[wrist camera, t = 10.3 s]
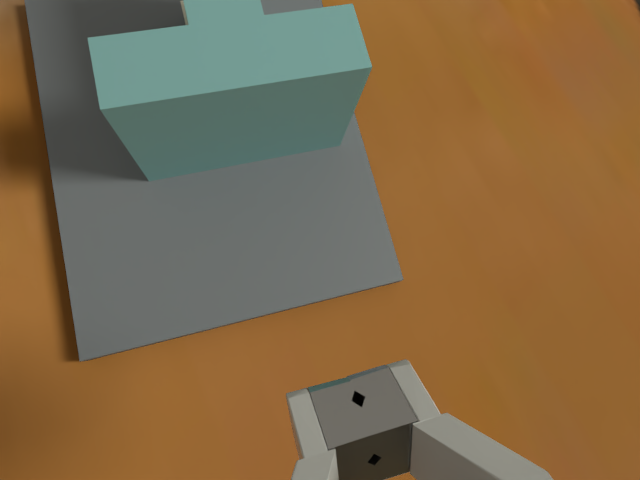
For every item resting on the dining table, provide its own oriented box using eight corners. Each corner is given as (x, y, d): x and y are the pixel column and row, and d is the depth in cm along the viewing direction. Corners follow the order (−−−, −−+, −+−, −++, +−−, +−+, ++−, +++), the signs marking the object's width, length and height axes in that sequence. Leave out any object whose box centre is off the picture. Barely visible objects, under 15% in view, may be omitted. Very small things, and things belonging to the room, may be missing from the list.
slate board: (86, 360, 29) (79, 361, 28) (31, 7, 34) (23, -4, 33) (398, 281, 33) (403, 279, 32) (308, -25, 38) (310, -37, 37)
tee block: (149, 181, 31) (100, 109, 22) (118, 20, 34) (61, -108, 24) (340, 145, 34) (372, 67, 24) (298, -2, 36) (313, -127, 27)
